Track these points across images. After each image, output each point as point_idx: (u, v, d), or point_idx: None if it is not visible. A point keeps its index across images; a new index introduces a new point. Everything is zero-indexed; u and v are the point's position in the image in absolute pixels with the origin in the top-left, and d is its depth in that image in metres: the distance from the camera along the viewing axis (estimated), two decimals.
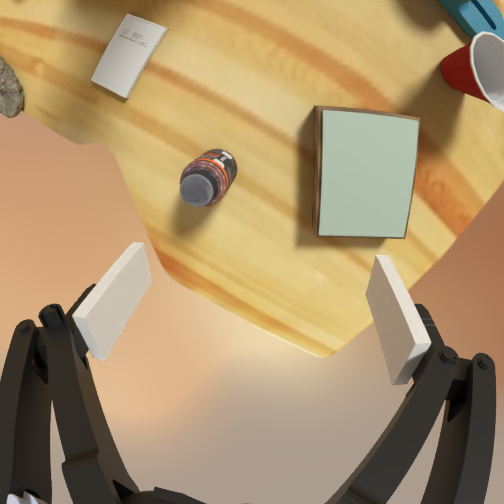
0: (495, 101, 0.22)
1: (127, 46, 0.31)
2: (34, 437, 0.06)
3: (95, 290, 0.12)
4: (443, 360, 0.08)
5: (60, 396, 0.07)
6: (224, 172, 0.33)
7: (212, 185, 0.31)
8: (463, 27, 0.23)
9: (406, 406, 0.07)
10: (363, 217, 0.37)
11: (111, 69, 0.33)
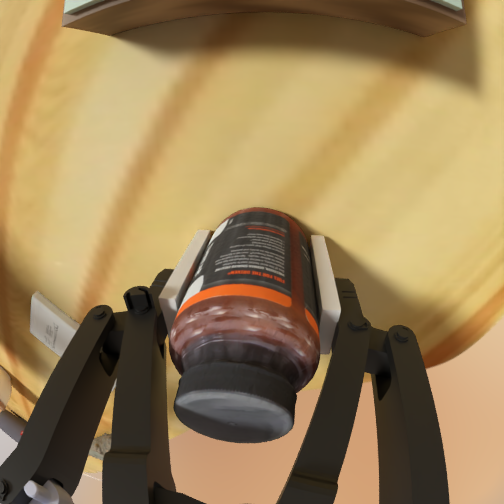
0: None
1: (63, 344, 0.25)
2: (78, 429, 0.07)
3: (176, 273, 0.13)
4: (353, 328, 0.10)
5: (126, 384, 0.08)
6: (204, 298, 0.10)
7: (211, 387, 0.07)
8: None
9: (326, 381, 0.08)
10: None
11: None
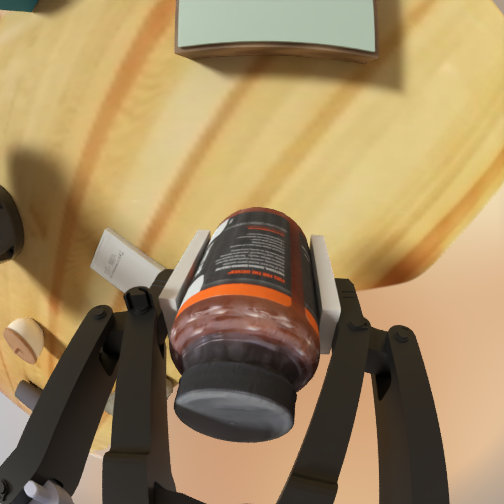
0: None
1: (122, 271, 0.38)
2: (78, 429, 0.07)
3: (176, 273, 0.13)
4: (353, 328, 0.10)
5: (126, 384, 0.08)
6: (204, 297, 0.10)
7: (211, 386, 0.07)
8: None
9: (325, 381, 0.08)
10: None
11: None
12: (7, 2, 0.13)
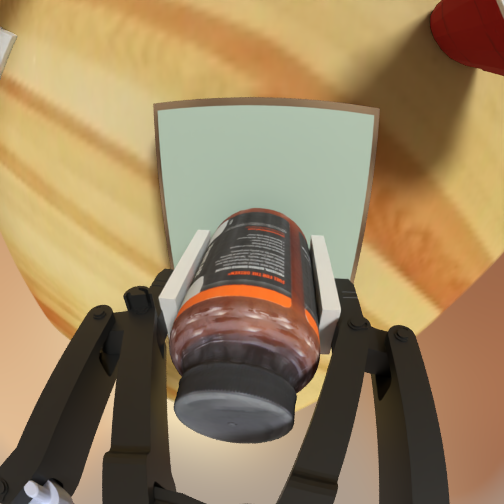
0: None
1: None
2: (78, 429, 0.07)
3: (176, 273, 0.13)
4: (353, 328, 0.10)
5: (125, 384, 0.08)
6: (205, 299, 0.10)
7: (210, 388, 0.07)
8: None
9: (326, 381, 0.08)
10: None
11: None
12: None
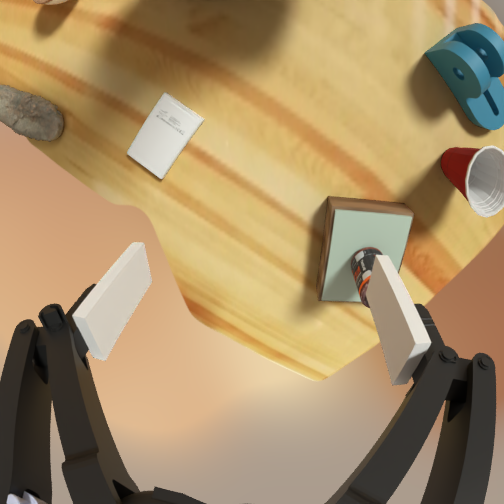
0: (481, 201, 0.33)
1: (164, 129, 0.41)
2: (34, 436, 0.06)
3: (95, 290, 0.12)
4: (443, 359, 0.08)
5: (60, 396, 0.07)
6: None
7: None
8: (467, 114, 0.34)
9: (406, 406, 0.07)
10: (357, 289, 0.48)
11: (148, 148, 0.43)
12: (447, 56, 0.26)
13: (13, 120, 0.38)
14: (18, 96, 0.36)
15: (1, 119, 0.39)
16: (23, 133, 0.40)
